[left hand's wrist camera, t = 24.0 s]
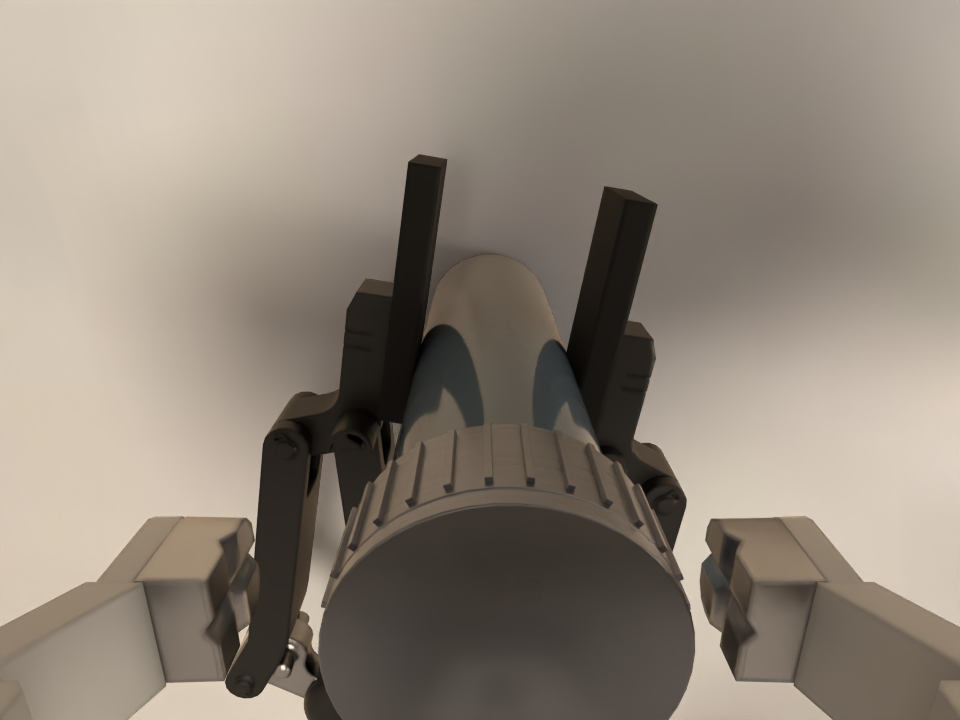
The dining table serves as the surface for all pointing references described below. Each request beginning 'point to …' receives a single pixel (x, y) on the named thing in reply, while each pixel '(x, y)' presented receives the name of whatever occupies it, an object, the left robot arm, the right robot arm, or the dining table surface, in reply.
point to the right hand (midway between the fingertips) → (529, 179)
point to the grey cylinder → (491, 358)
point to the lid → (505, 588)
